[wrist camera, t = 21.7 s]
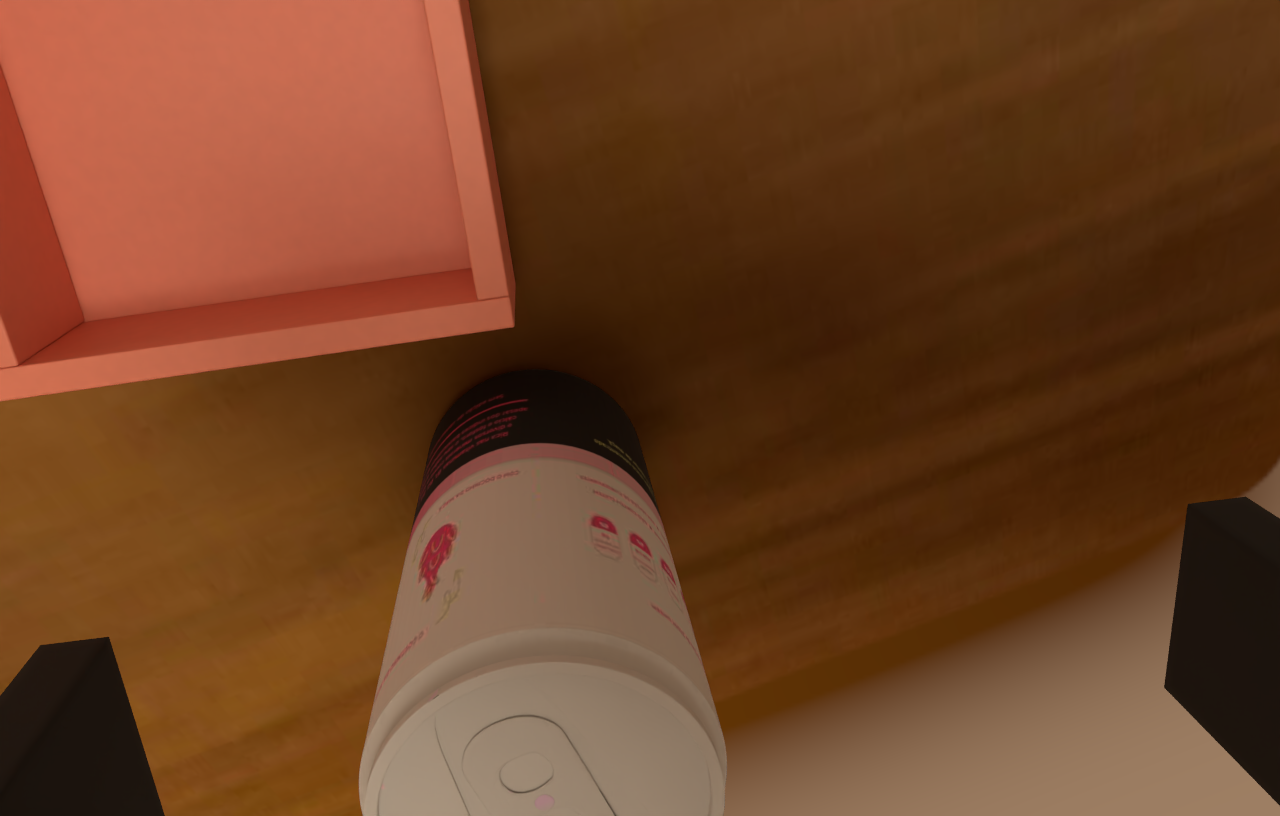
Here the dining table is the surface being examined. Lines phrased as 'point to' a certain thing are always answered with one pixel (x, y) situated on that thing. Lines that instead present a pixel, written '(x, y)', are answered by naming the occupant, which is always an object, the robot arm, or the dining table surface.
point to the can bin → (239, 185)
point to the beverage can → (540, 625)
